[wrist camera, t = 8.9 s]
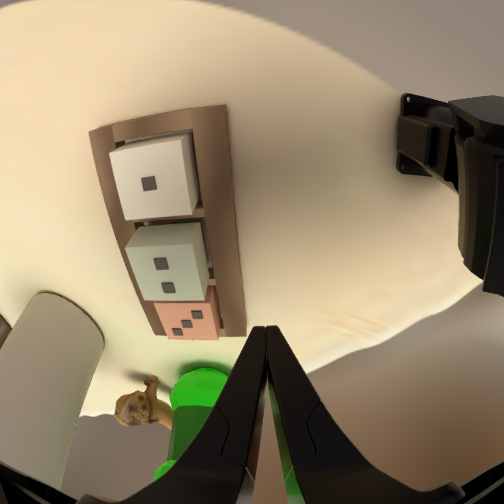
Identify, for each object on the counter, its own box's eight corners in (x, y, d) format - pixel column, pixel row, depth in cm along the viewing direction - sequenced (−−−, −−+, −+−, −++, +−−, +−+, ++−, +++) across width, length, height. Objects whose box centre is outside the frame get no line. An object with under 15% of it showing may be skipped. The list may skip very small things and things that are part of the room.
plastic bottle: (170, 351, 32) (138, 541, 11) (253, 363, 33) (252, 555, 12) (174, 385, 37) (152, 533, 16) (241, 395, 38) (237, 544, 17)
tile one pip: (191, 132, 17) (179, 140, 15) (200, 196, 20) (191, 215, 17) (127, 142, 17) (107, 153, 15) (140, 202, 20) (124, 221, 18)
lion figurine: (120, 373, 36) (106, 421, 29) (132, 363, 34) (117, 416, 27) (195, 407, 42) (189, 451, 34) (212, 400, 40) (208, 449, 32)
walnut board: (225, 104, 16) (223, 105, 15) (246, 325, 28) (246, 336, 27) (98, 128, 17) (88, 131, 15) (158, 325, 29) (155, 335, 27)
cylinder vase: (111, 360, 34) (71, 509, 14) (46, 336, 32) (-5, 464, 12) (98, 306, 27) (28, 505, 7) (23, 279, 26) (-59, 433, 5)
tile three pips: (213, 279, 24) (209, 304, 22) (220, 317, 27) (218, 341, 25) (162, 280, 25) (153, 304, 22) (174, 317, 27) (168, 340, 25)
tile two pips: (199, 222, 20) (191, 245, 17) (209, 275, 23) (204, 302, 20) (139, 226, 20) (123, 249, 17) (154, 276, 23) (143, 302, 20)
